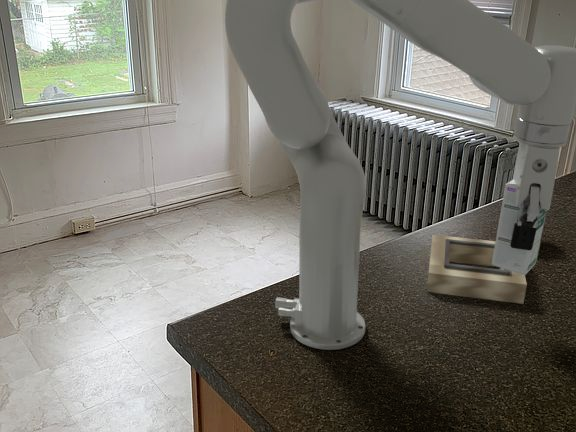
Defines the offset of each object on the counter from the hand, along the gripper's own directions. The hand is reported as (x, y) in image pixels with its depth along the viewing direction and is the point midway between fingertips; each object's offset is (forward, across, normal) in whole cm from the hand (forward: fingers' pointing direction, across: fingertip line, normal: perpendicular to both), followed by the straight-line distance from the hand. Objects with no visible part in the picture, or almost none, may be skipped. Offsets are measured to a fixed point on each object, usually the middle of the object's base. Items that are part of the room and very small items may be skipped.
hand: (518, 237), depth 96 cm
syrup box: (+5, 0, 0) cm, 5 cm away
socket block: (+15, +15, +4) cm, 22 cm away
